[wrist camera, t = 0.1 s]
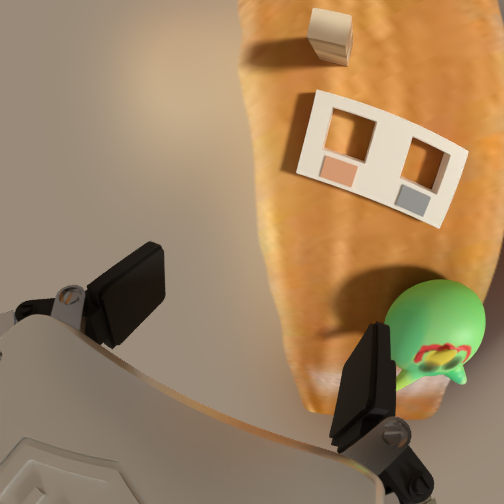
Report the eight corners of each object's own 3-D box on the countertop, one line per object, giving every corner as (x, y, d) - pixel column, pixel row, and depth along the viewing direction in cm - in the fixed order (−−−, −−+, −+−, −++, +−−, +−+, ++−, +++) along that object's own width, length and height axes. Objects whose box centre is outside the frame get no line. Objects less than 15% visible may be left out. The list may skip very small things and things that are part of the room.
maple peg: (324, 36, 27) (313, 7, 18) (352, 43, 26) (351, 15, 17) (319, 59, 29) (306, 37, 20) (347, 66, 28) (345, 45, 19)
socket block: (319, 92, 32) (316, 89, 29) (461, 149, 27) (469, 151, 24) (300, 169, 38) (295, 173, 35) (434, 221, 34) (439, 229, 31)
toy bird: (480, 263, 33) (512, 319, 20) (457, 338, 40) (470, 397, 27) (386, 263, 39) (393, 324, 27) (376, 339, 46) (373, 401, 34)
